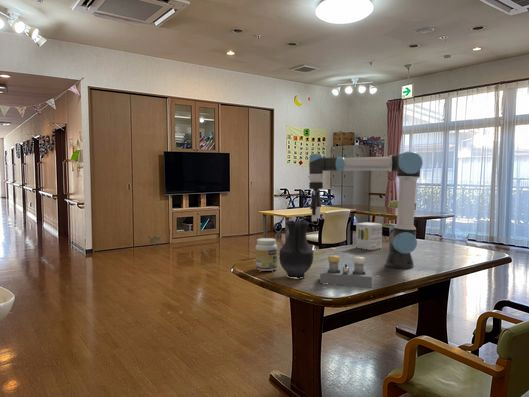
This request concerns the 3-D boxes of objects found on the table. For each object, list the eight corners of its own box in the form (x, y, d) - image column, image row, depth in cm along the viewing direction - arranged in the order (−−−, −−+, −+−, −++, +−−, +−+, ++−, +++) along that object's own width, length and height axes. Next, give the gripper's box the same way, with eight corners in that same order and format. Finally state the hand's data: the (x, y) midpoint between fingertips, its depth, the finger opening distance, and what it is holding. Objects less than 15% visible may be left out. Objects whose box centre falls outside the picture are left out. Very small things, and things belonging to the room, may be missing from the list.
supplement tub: (270, 273, 210) (270, 242, 209) (251, 270, 216) (251, 240, 215) (281, 268, 221) (281, 238, 220) (262, 266, 227) (262, 237, 226)
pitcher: (311, 273, 211) (312, 217, 209) (315, 283, 190) (315, 222, 188) (279, 272, 212) (279, 217, 210) (279, 283, 191) (279, 222, 189)
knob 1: (339, 270, 196) (339, 255, 196) (338, 273, 191) (339, 257, 190) (328, 269, 197) (328, 255, 197) (327, 272, 192) (327, 257, 192)
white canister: (355, 247, 283) (355, 223, 282) (366, 245, 291) (367, 222, 290) (370, 250, 273) (370, 225, 271) (382, 248, 281) (382, 223, 279)
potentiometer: (349, 273, 191) (349, 263, 191) (348, 274, 188) (348, 265, 188) (343, 272, 192) (343, 263, 192) (342, 274, 189) (342, 264, 189)
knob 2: (364, 272, 193) (364, 256, 192) (364, 274, 188) (364, 259, 187) (353, 271, 194) (353, 256, 194) (352, 274, 189) (353, 258, 189)
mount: (371, 280, 196) (371, 270, 195) (371, 287, 184) (371, 276, 184) (322, 277, 202) (322, 267, 201) (320, 283, 190) (320, 273, 190)
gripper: (312, 181, 233) (312, 217, 234) (305, 182, 209) (305, 222, 210) (325, 181, 231) (325, 217, 232) (319, 182, 207) (319, 222, 208)
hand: (316, 219), depth 221 cm, fingers open, 13 cm apart
